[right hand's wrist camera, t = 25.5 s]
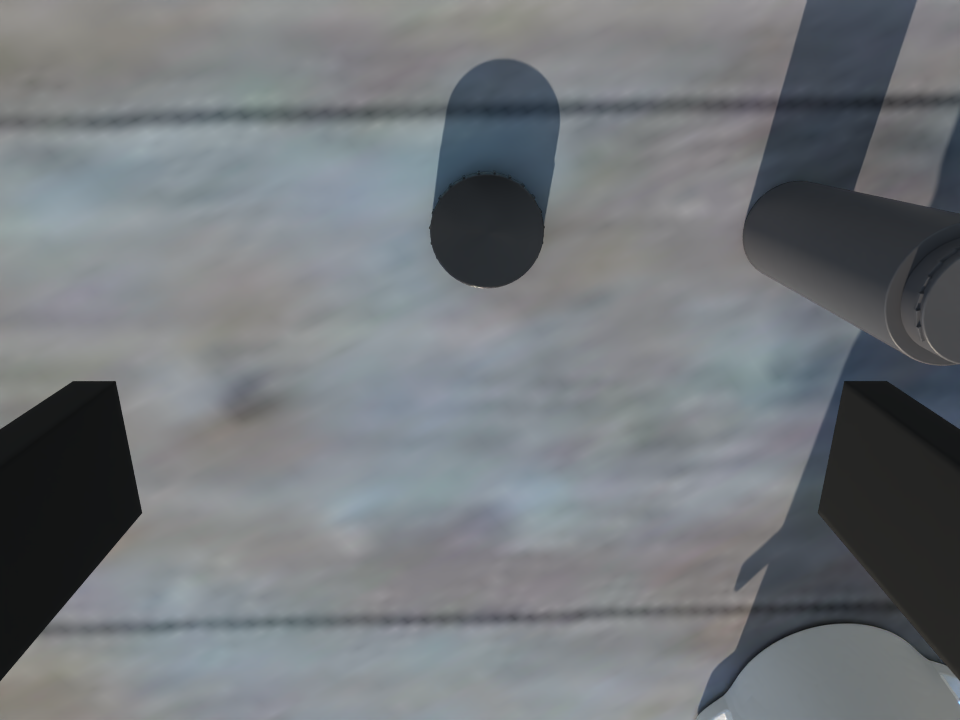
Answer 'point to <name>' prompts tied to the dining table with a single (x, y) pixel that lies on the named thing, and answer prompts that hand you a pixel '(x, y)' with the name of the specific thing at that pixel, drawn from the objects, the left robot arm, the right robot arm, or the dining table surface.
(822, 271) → the jar
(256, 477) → the dining table surface
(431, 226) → the lid
